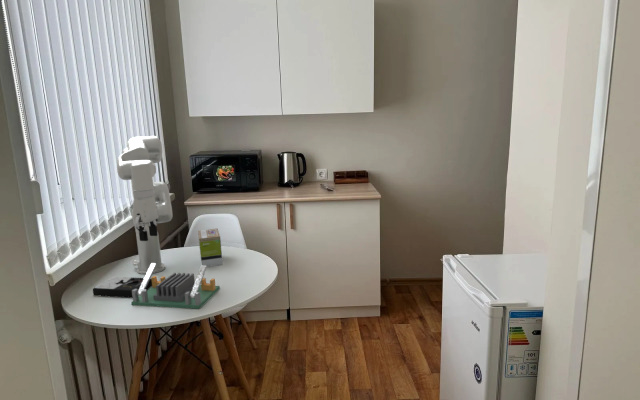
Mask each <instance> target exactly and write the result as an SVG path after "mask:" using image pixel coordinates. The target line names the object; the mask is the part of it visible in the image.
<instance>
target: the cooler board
mask: <svg viewBox="0 0 640 400" xmlns="http://www.w3.org/2000/svg"><path fill="white" fill-rule="evenodd" d="M151 279H152V286H151V287H150V288H149V289H144V290H142V291H141V294H142V296H138V295H136V293H137V292H138V289H134V290H132V297H133V298H132V301H131V305H132V306H143V307H144V306H146V307H161V308H176V309H177V308H178V309H179V308H180V309H196V310H197V309H198V310H200V309H201V308H202V307H203V306H205V305H204V304H206V303H207V302H208V301H209V300H210V299H211V298H212V297H213V296H214V295H215V294H216V293H217V292H218V291H219V290H220V289H221V288H220V285H216V278H211V279H209V283H208V282H207V280H206V279H207V278H205V277H203V279H202V282H201V284H200V287H199V290H198V292H196V293H195V299H192V298H189V296H190V294H191V291H192V289H193V286H194V284H195V281H196V279H195V273H186V272H183V273H181V272H178V273H177V272H173V273H172V274H171V275H169V276H168V277H166V276H164V275H163V276H161V277H160V279H159V280H158V277H157V275H152V276H151Z"/></svg>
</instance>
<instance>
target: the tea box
mask: <svg viewBox="0 0 640 400" xmlns="http://www.w3.org/2000/svg"><path fill="white" fill-rule="evenodd" d="M197 232H198V233H197V234H198V245H199V246H198V247H199V253H200V254H199V255H200V261H201V265H206V266H207V268H208V267H216V266H222V265H223V253H222V252H223V251H222V242H221V241H222V240H221V235H220V233H219V229H218V228H210V229H209V228H208V229H202V230H198V231H197Z"/></svg>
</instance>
